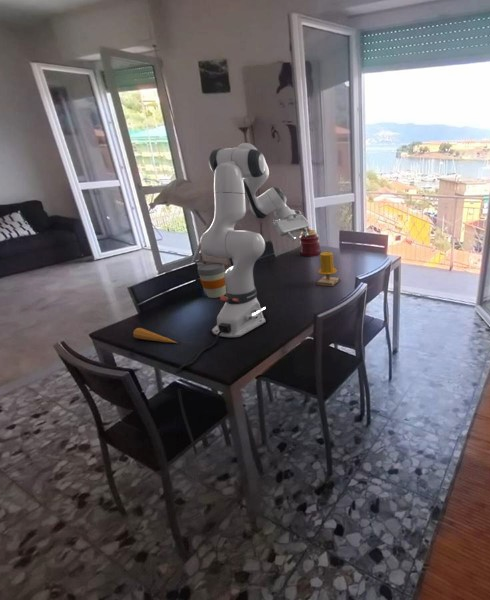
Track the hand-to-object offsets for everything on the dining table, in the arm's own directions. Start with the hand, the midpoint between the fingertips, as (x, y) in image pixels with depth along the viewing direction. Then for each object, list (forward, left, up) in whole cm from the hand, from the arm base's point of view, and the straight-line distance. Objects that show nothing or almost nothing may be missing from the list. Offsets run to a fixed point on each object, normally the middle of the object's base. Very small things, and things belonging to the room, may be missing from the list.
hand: (301, 237), depth 187 cm
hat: (-1, -14, -17) cm, 22 cm away
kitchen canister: (+44, +20, -24) cm, 54 cm away
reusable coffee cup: (-32, +34, -24) cm, 52 cm away
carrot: (-76, +24, -24) cm, 84 cm away
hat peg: (-1, -14, -23) cm, 28 cm away
